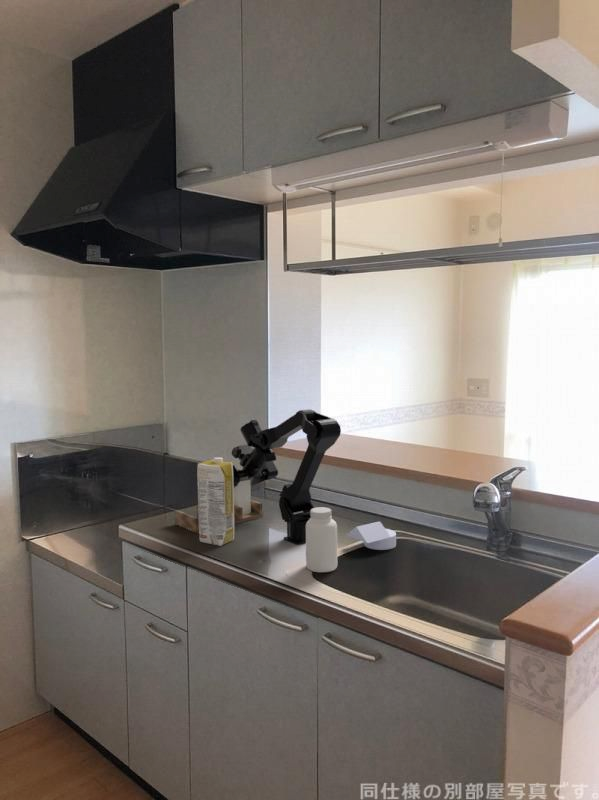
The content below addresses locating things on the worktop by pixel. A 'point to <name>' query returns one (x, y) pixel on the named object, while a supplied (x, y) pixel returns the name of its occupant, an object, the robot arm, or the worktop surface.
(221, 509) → the juice carton
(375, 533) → the wedge on round base
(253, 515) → the comb rack
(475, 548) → the worktop surface
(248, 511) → the grey piece
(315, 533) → the pill bottle
